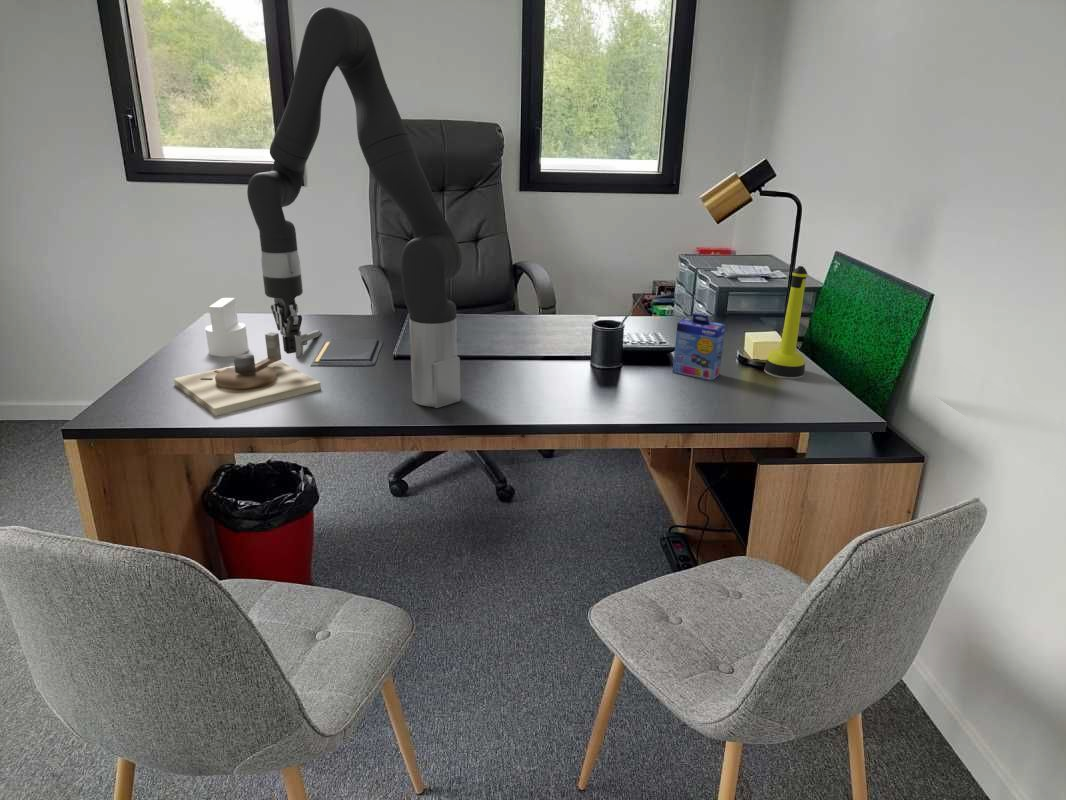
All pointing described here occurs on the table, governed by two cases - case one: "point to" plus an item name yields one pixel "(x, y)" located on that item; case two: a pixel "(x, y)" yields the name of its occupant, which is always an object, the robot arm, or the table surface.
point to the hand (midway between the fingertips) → (290, 352)
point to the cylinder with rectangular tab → (226, 330)
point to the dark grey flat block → (348, 353)
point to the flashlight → (790, 334)
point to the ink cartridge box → (698, 347)
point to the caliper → (304, 341)
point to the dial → (252, 368)
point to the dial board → (236, 399)
